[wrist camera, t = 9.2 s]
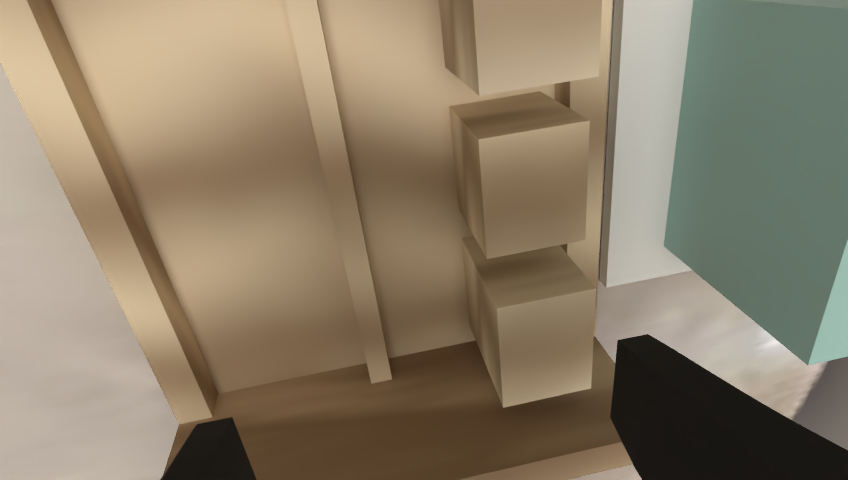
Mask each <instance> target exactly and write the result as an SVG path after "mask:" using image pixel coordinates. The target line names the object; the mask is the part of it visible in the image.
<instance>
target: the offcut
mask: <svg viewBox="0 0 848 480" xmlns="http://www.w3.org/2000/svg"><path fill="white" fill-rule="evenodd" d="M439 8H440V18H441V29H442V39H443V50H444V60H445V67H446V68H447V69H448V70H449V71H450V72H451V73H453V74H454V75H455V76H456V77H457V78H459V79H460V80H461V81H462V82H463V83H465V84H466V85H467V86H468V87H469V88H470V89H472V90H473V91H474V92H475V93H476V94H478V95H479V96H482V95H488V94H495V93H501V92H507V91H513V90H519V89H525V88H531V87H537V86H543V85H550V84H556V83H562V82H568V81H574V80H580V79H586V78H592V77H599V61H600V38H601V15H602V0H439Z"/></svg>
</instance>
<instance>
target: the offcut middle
mask: <svg viewBox="0 0 848 480" xmlns="http://www.w3.org/2000/svg"><path fill="white" fill-rule="evenodd" d="M449 112H450V123H451V133H452V144H453V154H454V165H455V175H456V186H457V196H458V207H459V210H460V212H461V213H462V215H463V217H464V219H465V221H466V223H467V224H468V226H469V228H470V230H471V232H472V233H473V235H474V237H475V239H476V241H477V242H478V244H479V246H480V248H481V250H482V251H483V253H484V255H485V257H486V259H490V258H495V257H501V256H506V255H511V254H516V253H521V252H527V251H532V250H537V249H542V248H547V247H552V246H558V245H563V244H568V243H573V242H578V241H583V240H585V237H586V210H587V182H588V155H589V128H590V120H588V119H586V118H585V117H583V116H581V115H580V114H578V113H576V112H574V111H573V110H571V109H569V108H568V107H566V106H564V105H562V104H561V103H559V102H557V101H556V100H554V99H552V98H551V97H549V96H547V95H545V94H544V93H542V92H540V91H538V92H532V93H526V94H520V95H514V96H508V97H502V98H496V99H490V100H484V101H478V102H472V103H465V104H459V105H453V106H449Z"/></svg>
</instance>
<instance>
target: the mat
mask: <svg viewBox="0 0 848 480" xmlns="http://www.w3.org/2000/svg"><path fill="white" fill-rule="evenodd" d="M692 7H693V0H614V16H613V34H612V53H611V71H610V90H609V109H608V127H607V146H606V165H605V183H604V202H603V220H602V239H601V258H600V276H599V280H600V281H601V282H602V284H603V285H604V286H605V287H606V288H608V287H613V286H618V285H623V284H627V283H632V282H637V281H642V280H647V279H652V278H657V277H662V276H667V275H672V274H677V273H682V272H687V271H691V270H692V269H691V268H689V267H688V266H687V265H686V264H685V263H683V262H682V261H681V260H680V259H679V258H677V257H676V256H675V255H674V254H673V253H671V252H670V251H669V250H668V249H667V248H665V247H664V239H665V230H666V222H667V214H668V206H669V197H670V189H671V181H672V172H673V164H674V156H675V148H676V139H677V131H678V123H679V115H680V106H681V98H682V90H683V82H684V73H685V65H686V57H687V48H688V40H689V32H690V24H691V15H692Z"/></svg>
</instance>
